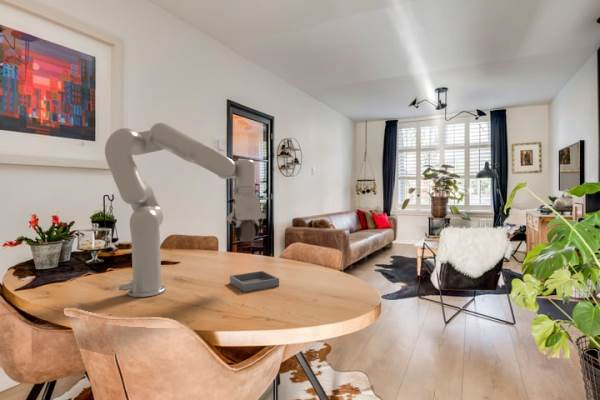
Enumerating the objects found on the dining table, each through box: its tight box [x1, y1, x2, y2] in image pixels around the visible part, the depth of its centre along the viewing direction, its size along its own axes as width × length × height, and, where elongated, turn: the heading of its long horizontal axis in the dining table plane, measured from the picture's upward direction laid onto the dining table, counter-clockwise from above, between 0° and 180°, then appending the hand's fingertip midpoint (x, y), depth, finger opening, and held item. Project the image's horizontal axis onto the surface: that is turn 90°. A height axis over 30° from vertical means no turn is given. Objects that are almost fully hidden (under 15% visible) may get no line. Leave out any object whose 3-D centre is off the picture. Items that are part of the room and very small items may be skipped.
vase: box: [239, 220, 256, 242], centre depth 132 cm, size 7×7×9 cm
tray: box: [229, 270, 280, 293], centre depth 132 cm, size 15×15×3 cm
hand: (247, 235), depth 132 cm, fingers closed on vase, 6 cm apart
